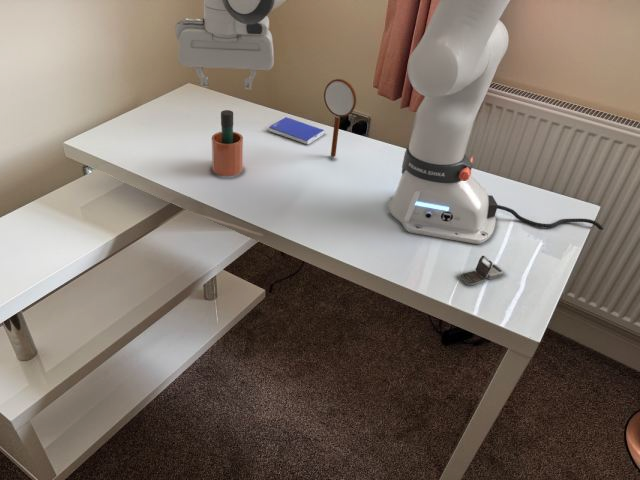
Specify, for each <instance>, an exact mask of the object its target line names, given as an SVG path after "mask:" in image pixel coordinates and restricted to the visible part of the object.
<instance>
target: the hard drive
mask: <svg viewBox="0 0 640 480" xmlns="http://www.w3.org/2000/svg"><path fill="white" fill-rule="evenodd" d="M268 132H270V133H273V134H277V135H278V136H281V137H284V138H287V139H290V140H294V141H297V142H299V143H301V144H305V145H310V144H311V143H313V142H314V141H316V140H317V139H319V138H321V137H322V136H323V135H324V134H325V129H323V128H319V127H317V126H313V125H311V124H308V123H305V122H302V121H299V120H296V119H293V118H290V117H287V116H286V117H284V118H281V119H280V120H278V121H276V122H275V123H272V124H271V125H269V126H268Z"/></svg>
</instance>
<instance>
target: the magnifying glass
mask: <svg viewBox="0 0 640 480" xmlns="http://www.w3.org/2000/svg"><path fill="white" fill-rule="evenodd" d="M323 101H324V104H325V106H326V108H327V110H328V111H329V112H330V113H331V114H332V115H334V116H335V117H334V122H333V123H334V125H333V130H332V131H333V132H332V142H331V149H330V157H331V160H334V159H335V157H336V155H337V148H338V147H337V146H338V138H339V132H340V131H339V130H340V124H341V123H340V122H341V118H344V117H347V116H349V115H350V114H352V113H353V112H354V110H355V108H356V105H357V94H356V91H355V89H354V87H353V86H352V84H351V83H349V82H348V81H347V80H345V79H342V78H336V79H333V80H331V81H329V82H328V83H327V85H326V86H325V89H324V92H323Z"/></svg>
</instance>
